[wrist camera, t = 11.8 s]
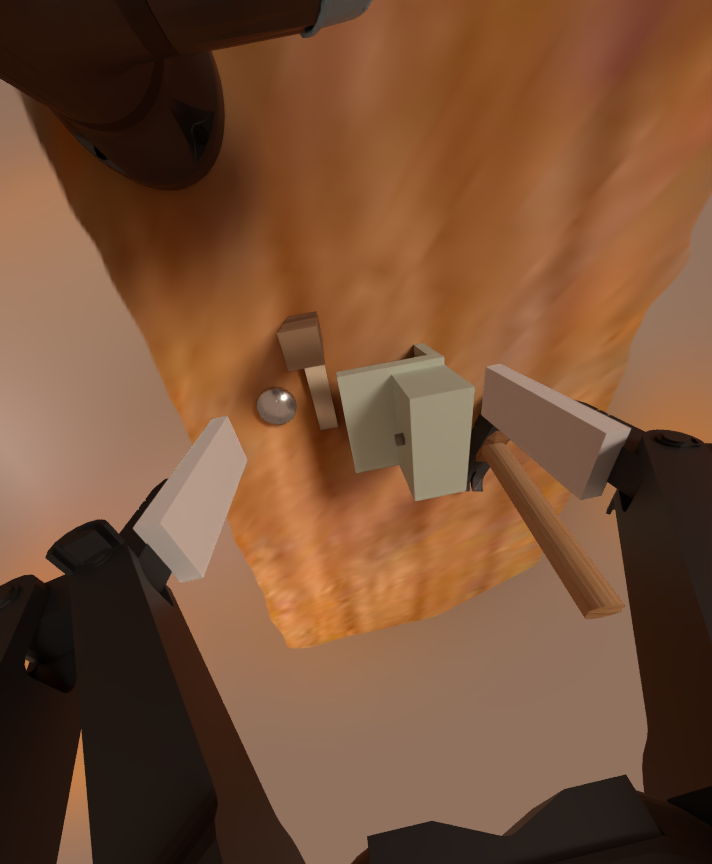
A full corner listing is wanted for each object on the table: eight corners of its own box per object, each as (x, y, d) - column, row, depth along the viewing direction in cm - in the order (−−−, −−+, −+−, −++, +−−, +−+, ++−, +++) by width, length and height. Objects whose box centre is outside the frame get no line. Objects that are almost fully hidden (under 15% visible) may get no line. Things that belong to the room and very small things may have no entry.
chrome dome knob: (255, 386, 42) (253, 390, 41) (294, 385, 43) (294, 389, 41) (261, 420, 45) (260, 425, 44) (298, 419, 46) (297, 423, 44)
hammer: (470, 469, 59) (562, 637, 36) (449, 468, 58) (530, 640, 36) (520, 390, 46) (710, 575, 24) (494, 388, 45) (666, 577, 23)
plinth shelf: (333, 359, 41) (341, 403, 27) (423, 342, 41) (475, 377, 28) (350, 445, 49) (363, 511, 36) (425, 430, 50) (466, 490, 36)
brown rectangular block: (287, 316, 37) (277, 333, 27) (316, 311, 37) (316, 325, 27) (317, 427, 47) (318, 471, 36) (340, 422, 47) (347, 465, 36)
